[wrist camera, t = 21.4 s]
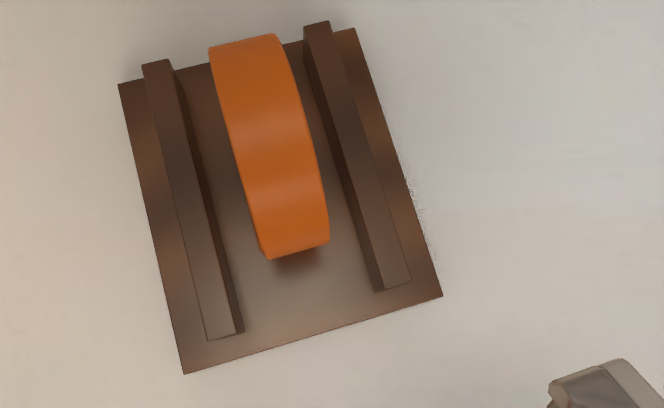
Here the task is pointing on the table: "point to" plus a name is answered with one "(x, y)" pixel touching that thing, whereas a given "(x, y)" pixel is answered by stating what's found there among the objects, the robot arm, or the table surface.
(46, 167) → the table surface
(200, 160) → the rack
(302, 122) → the disc
